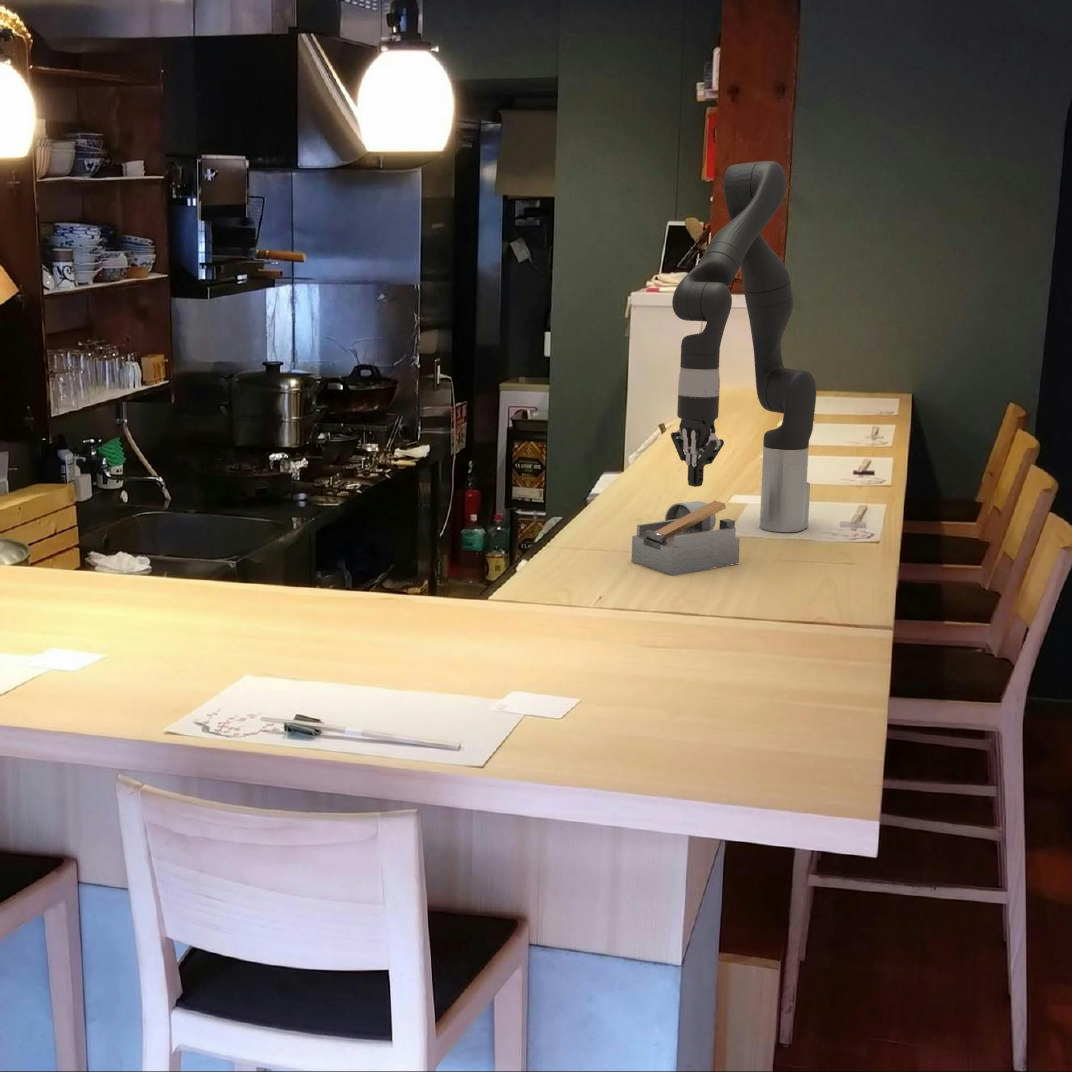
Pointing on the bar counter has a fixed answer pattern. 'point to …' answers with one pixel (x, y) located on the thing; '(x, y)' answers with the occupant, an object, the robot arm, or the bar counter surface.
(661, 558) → the block
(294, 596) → the bar counter surface
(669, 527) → the strap
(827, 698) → the bar counter surface
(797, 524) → the robot arm
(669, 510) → the ceramic mug
